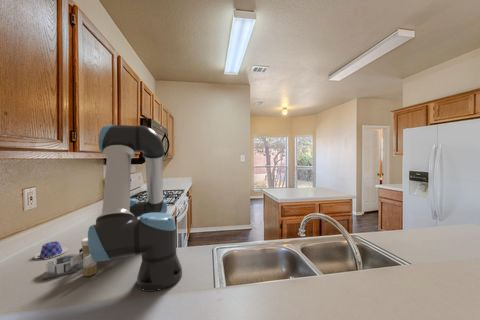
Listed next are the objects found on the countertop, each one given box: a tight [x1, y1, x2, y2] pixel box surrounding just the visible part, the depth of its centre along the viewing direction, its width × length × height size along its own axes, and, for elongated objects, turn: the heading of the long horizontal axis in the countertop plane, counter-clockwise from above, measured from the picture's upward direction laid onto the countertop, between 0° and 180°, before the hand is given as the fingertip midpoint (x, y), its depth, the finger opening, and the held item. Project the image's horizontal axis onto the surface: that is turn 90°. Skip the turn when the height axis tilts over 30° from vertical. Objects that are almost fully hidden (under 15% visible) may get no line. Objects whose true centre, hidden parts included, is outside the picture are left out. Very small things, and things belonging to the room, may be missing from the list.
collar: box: [42, 253, 83, 280], centre depth 84 cm, size 10×10×4 cm
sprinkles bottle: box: [81, 237, 98, 277], centre depth 80 cm, size 5×5×13 cm
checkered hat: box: [33, 241, 69, 260], centre depth 99 cm, size 12×12×5 cm
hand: (78, 262), depth 75 cm, fingers closed on sprinkles bottle, 4 cm apart
